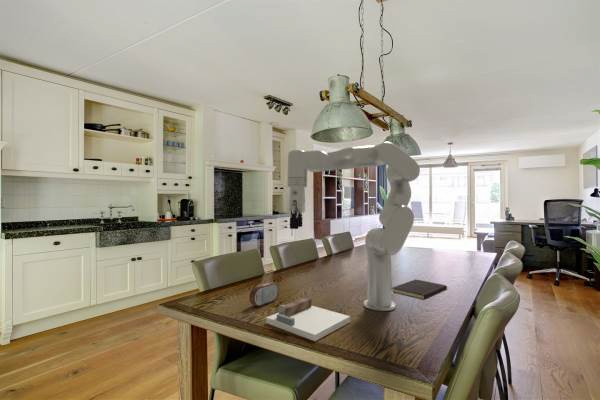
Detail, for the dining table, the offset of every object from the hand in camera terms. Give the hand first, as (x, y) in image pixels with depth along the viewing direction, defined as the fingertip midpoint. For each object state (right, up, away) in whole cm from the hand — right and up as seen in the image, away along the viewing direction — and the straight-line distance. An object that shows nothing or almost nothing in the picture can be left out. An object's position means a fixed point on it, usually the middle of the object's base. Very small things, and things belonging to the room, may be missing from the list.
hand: (296, 227), depth 120 cm
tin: (-13, -33, +12) cm, 37 cm away
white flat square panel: (+4, -33, -9) cm, 34 cm away
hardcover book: (+59, -33, +30) cm, 74 cm away
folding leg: (0, -31, -4) cm, 31 cm away
